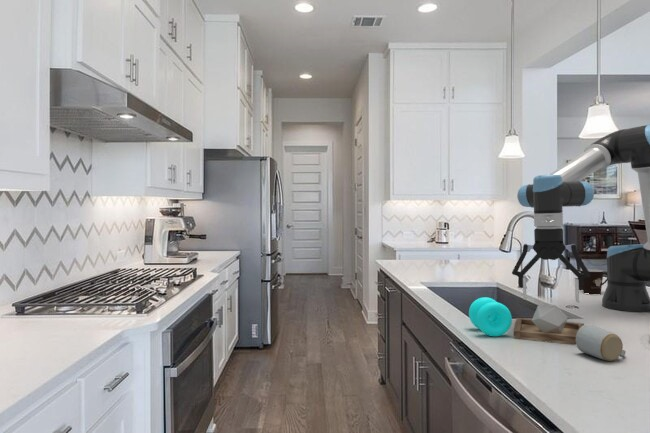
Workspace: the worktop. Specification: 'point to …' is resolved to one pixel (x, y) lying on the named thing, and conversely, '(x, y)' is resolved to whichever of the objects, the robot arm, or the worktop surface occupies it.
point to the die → (549, 319)
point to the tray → (532, 332)
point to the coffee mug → (593, 281)
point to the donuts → (497, 320)
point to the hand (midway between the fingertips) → (550, 300)
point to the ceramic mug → (599, 343)
